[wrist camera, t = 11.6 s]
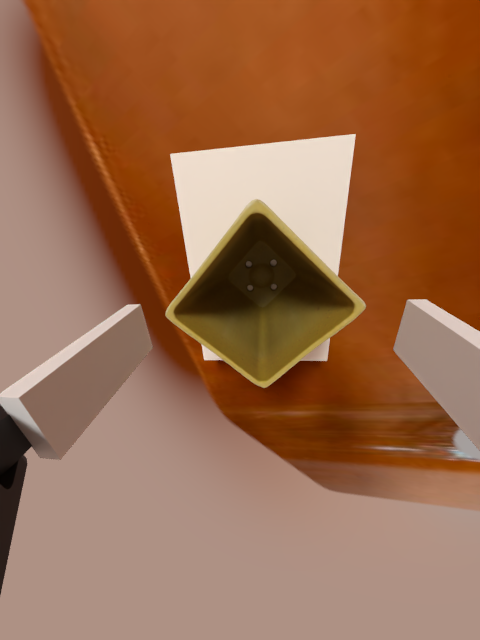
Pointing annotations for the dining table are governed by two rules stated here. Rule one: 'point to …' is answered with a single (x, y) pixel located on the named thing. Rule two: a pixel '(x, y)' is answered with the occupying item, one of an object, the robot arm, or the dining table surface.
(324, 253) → the display ledge
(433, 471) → the dining table surface
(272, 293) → the flower pot
